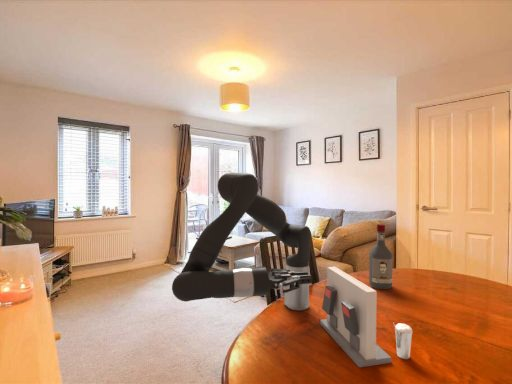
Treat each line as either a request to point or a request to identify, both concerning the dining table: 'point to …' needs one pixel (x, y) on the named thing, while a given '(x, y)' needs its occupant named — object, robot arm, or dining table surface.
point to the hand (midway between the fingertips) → (309, 277)
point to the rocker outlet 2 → (350, 318)
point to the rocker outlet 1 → (329, 300)
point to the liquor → (380, 262)
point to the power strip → (364, 302)
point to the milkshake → (403, 340)
